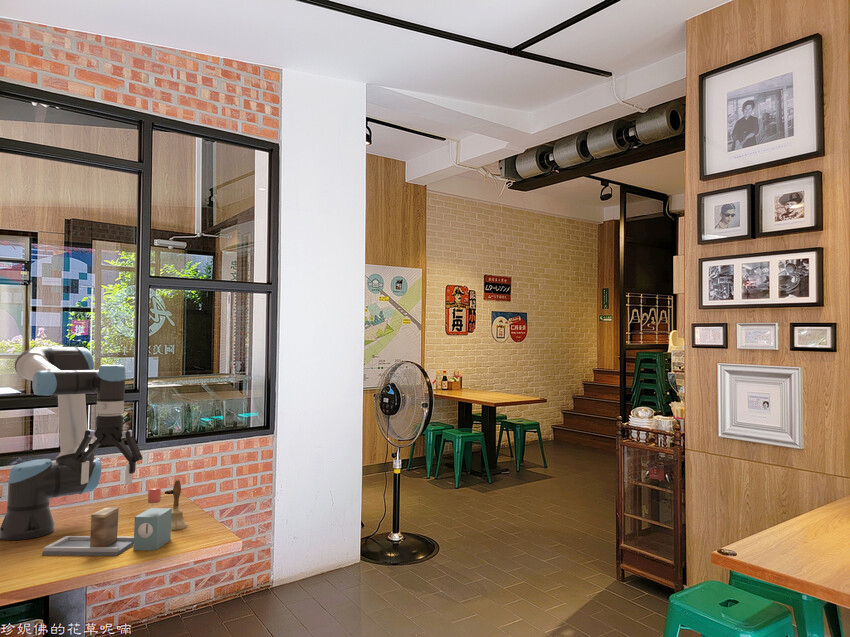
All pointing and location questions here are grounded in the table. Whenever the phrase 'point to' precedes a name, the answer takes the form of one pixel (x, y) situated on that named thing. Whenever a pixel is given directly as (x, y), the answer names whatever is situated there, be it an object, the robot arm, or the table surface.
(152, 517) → the cabinet
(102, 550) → the track
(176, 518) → the hand bell
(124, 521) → the table surface
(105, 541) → the tan rectangular block
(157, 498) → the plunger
